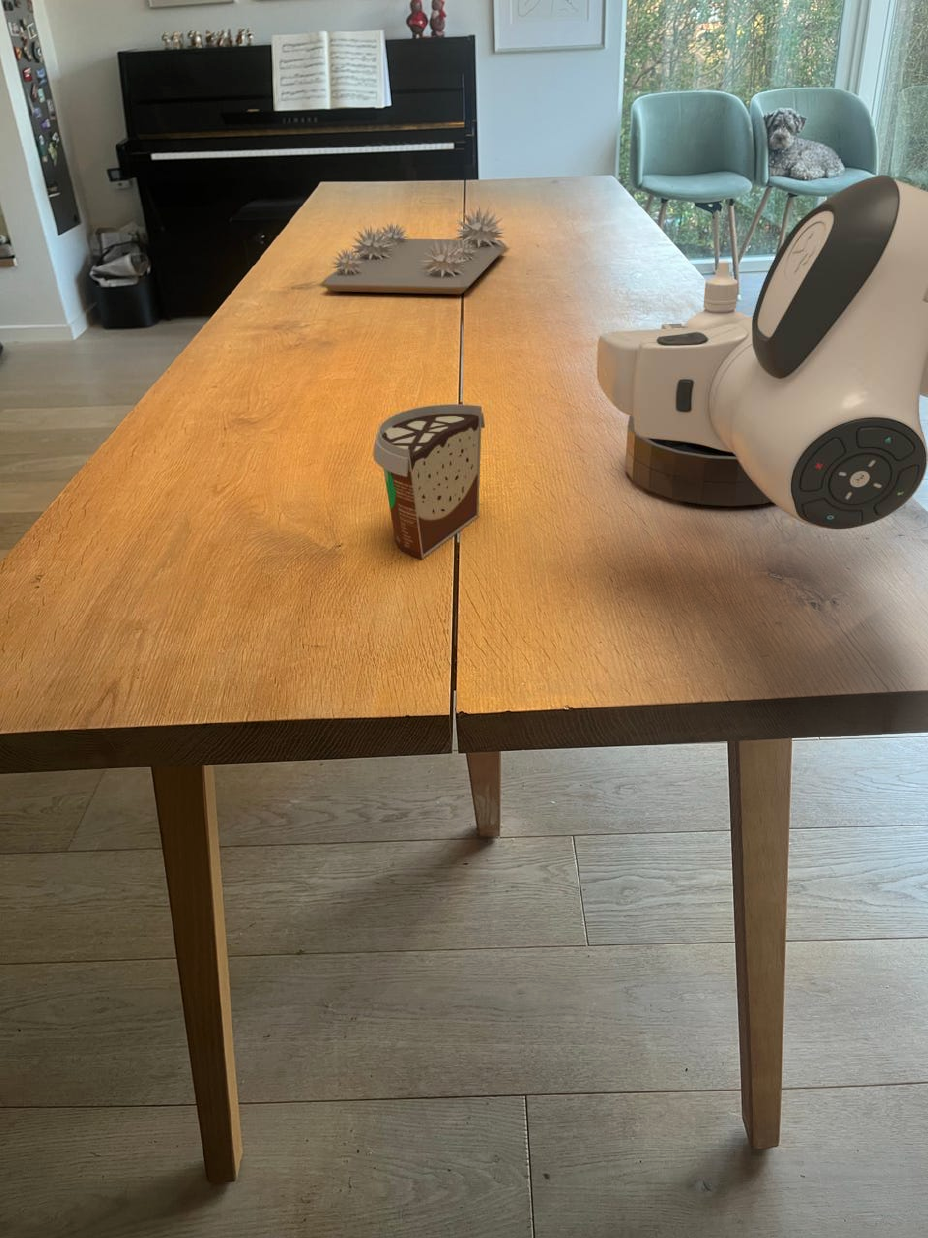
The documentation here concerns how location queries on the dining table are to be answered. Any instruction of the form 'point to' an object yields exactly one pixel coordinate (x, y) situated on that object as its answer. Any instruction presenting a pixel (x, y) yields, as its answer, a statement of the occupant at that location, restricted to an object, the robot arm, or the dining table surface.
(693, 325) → the eye dropper bottle
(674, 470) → the faceted ring band
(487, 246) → the decorative tray
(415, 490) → the food container
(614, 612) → the dining table surface
